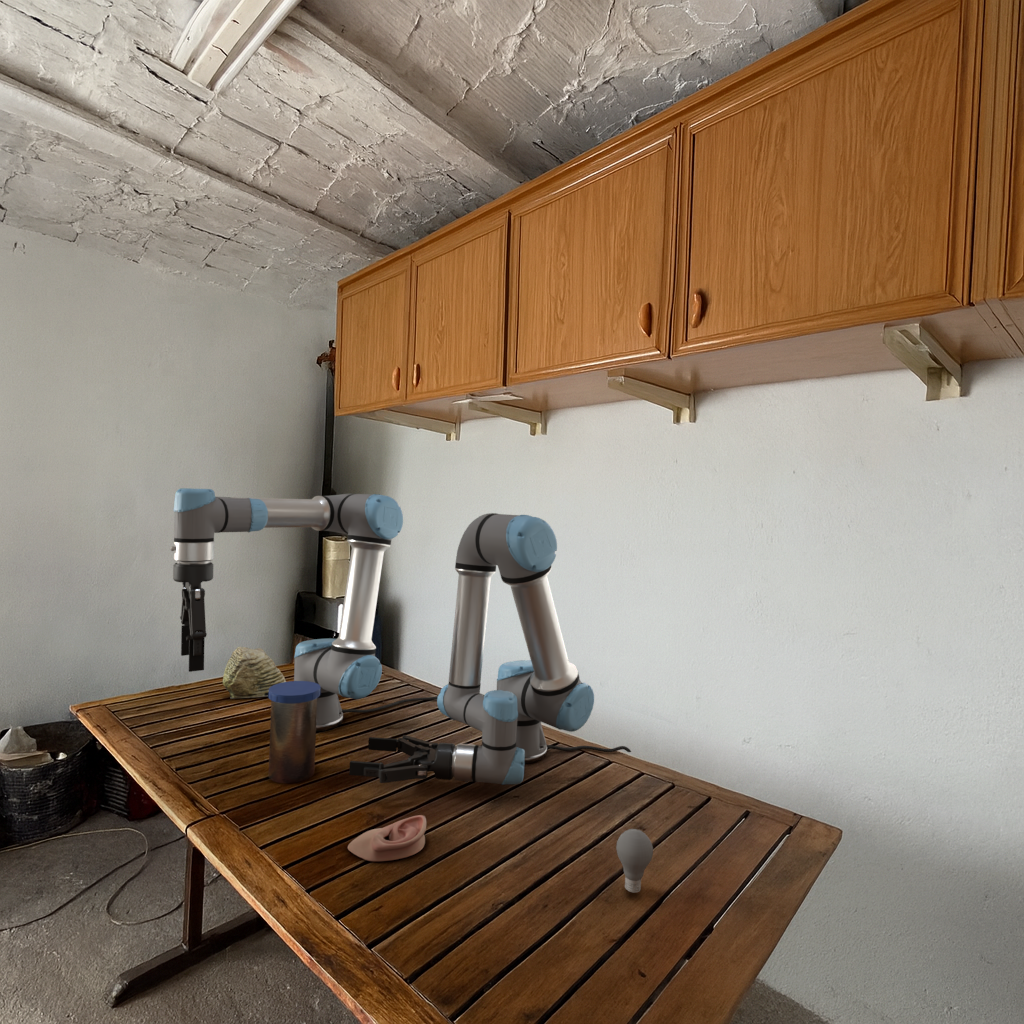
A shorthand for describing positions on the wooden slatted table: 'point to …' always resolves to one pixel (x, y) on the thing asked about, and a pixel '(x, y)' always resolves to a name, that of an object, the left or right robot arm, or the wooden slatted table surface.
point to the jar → (292, 741)
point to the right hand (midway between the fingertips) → (359, 755)
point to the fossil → (250, 673)
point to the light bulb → (634, 857)
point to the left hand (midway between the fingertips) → (192, 662)
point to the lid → (294, 692)
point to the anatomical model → (391, 840)
